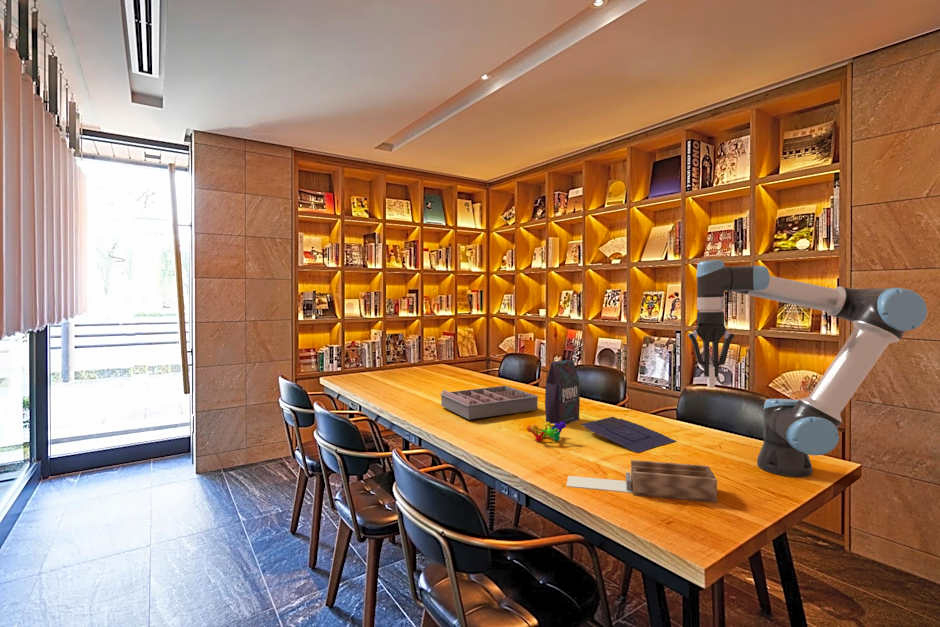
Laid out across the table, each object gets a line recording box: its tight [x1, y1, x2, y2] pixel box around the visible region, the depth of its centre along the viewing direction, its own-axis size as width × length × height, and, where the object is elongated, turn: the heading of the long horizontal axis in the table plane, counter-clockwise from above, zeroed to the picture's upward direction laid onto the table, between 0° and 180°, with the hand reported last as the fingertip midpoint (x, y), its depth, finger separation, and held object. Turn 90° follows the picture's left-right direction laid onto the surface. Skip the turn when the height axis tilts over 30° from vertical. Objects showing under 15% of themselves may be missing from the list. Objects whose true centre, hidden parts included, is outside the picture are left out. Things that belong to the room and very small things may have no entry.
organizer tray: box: [439, 385, 540, 420], centre depth 241 cm, size 32×40×10 cm
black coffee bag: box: [544, 358, 581, 425], centre depth 217 cm, size 8×16×28 cm, turn 133°
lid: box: [565, 471, 633, 494], centre depth 146 cm, size 19×8×4 cm, turn 74°
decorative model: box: [526, 421, 567, 443], centre depth 190 cm, size 13×9×15 cm
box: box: [630, 459, 718, 504], centre depth 140 cm, size 22×11×6 cm, turn 75°
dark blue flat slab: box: [580, 416, 676, 454], centre depth 193 cm, size 24×30×4 cm
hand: (711, 387), depth 148 cm, fingers closed
